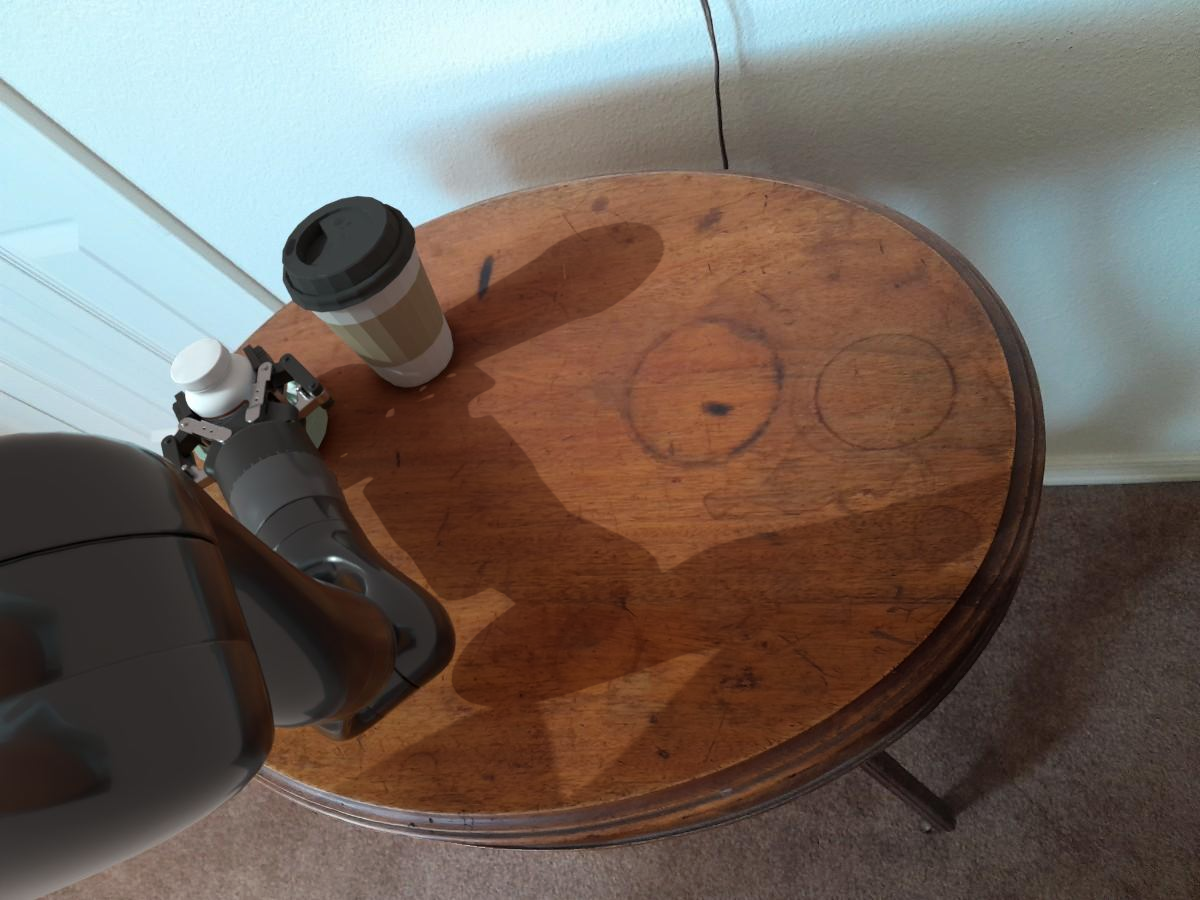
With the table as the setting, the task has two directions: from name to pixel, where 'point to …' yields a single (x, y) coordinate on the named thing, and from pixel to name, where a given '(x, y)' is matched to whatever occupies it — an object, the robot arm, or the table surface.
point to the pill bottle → (213, 379)
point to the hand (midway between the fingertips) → (218, 376)
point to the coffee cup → (369, 287)
